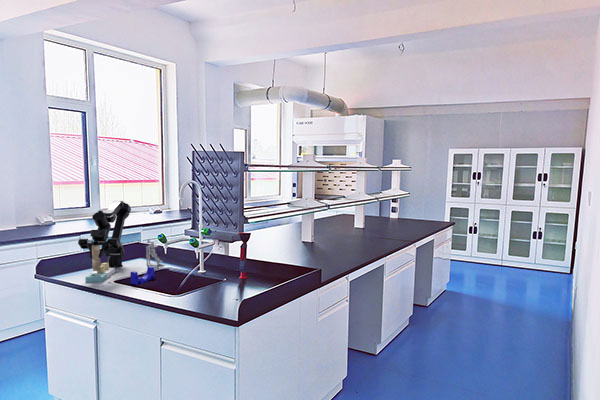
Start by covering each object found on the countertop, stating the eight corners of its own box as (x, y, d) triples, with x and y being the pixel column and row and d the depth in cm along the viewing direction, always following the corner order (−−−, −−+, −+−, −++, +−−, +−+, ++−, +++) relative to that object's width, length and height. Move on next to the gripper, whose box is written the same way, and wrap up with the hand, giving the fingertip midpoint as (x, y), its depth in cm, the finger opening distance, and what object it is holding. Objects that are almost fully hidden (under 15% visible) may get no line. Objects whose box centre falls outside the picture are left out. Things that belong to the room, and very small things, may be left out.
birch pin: (100, 268, 201) (100, 244, 200) (100, 270, 198) (99, 246, 197) (92, 269, 200) (92, 245, 199) (92, 271, 197) (91, 246, 195)
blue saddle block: (137, 285, 193) (136, 273, 192) (130, 283, 195) (130, 271, 194) (156, 278, 203) (156, 267, 203) (150, 277, 205) (149, 266, 205)
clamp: (161, 266, 227) (161, 240, 226) (145, 265, 227) (144, 240, 226) (164, 264, 231) (164, 238, 230) (148, 263, 232) (147, 238, 230)
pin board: (99, 272, 212) (98, 262, 212) (114, 272, 213) (114, 262, 213) (85, 282, 195) (85, 271, 195) (102, 281, 196) (102, 271, 196)
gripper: (78, 223, 200) (69, 249, 190) (117, 223, 202) (110, 249, 192) (86, 235, 208) (77, 261, 198) (123, 235, 210) (116, 261, 200)
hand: (95, 258), depth 197 cm, fingers closed on birch pin, 4 cm apart
